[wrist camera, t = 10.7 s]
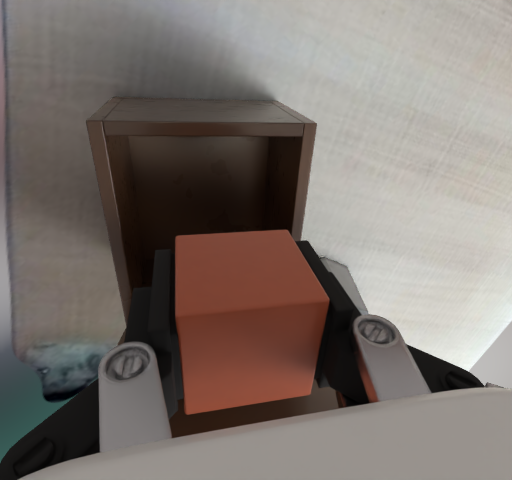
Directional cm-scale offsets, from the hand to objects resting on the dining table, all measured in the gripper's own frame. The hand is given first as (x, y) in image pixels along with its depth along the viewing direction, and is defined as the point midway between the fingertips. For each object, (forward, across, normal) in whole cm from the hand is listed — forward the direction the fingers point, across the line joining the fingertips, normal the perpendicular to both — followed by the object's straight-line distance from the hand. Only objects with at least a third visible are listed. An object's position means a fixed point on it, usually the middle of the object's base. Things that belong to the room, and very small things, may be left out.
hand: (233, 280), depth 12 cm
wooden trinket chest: (+18, 0, +3) cm, 18 cm away
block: (0, 0, 0) cm, 0 cm away
